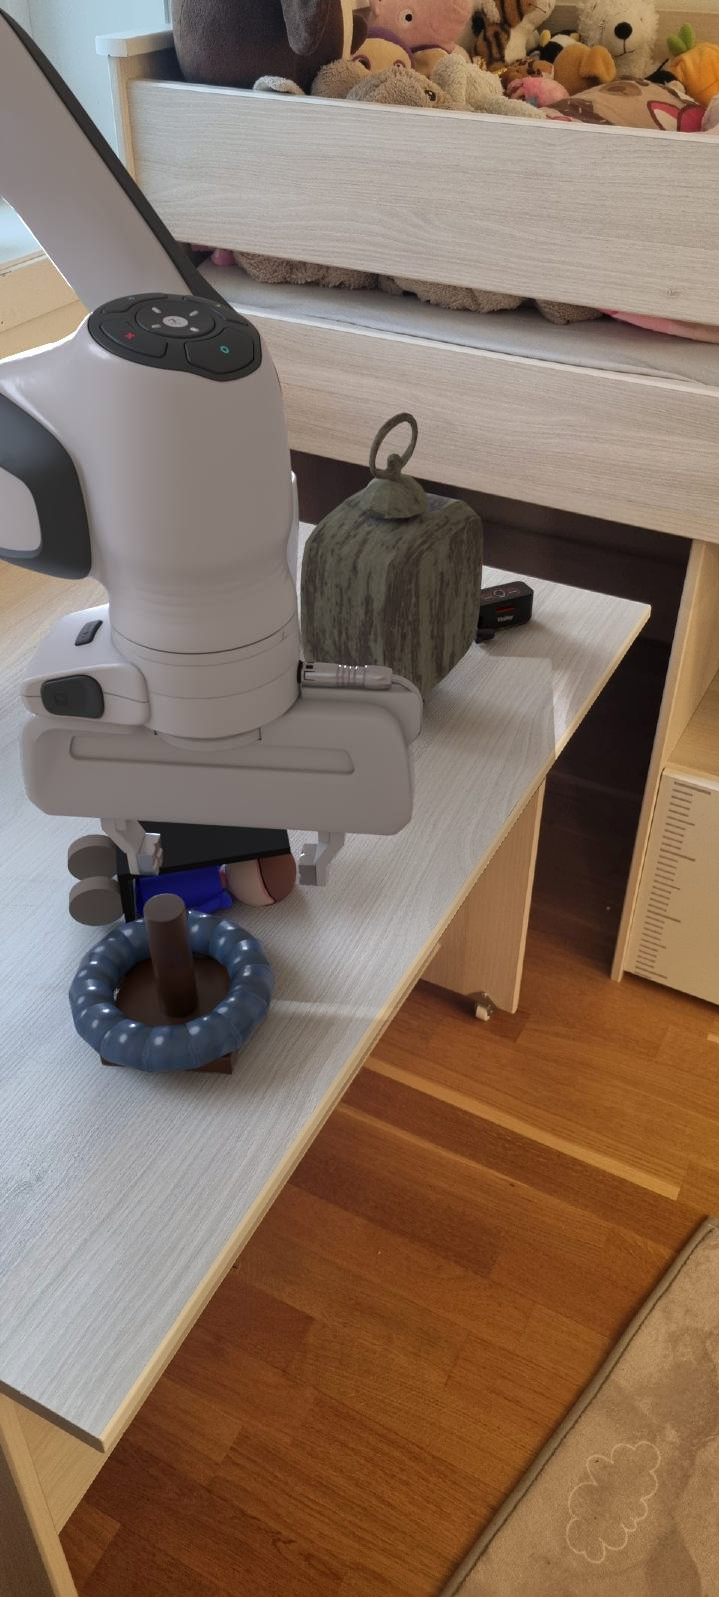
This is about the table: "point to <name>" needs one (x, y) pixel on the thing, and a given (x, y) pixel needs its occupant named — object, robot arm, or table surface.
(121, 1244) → the table surface
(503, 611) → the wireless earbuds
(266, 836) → the figurine character
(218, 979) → the stand
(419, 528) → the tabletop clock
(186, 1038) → the blue ring
